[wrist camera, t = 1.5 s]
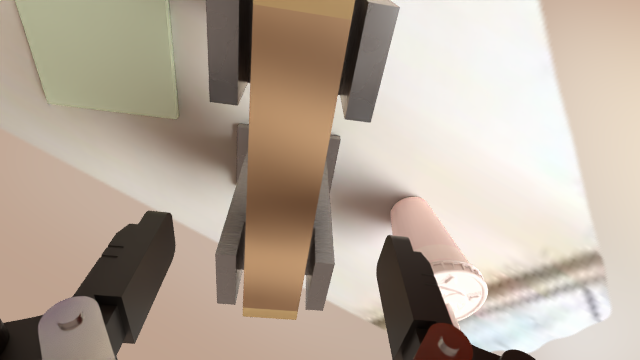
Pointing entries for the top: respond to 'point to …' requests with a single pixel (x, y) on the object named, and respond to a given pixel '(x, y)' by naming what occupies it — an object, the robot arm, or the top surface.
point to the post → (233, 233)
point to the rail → (288, 142)
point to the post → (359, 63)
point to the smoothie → (440, 257)
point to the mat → (104, 54)
